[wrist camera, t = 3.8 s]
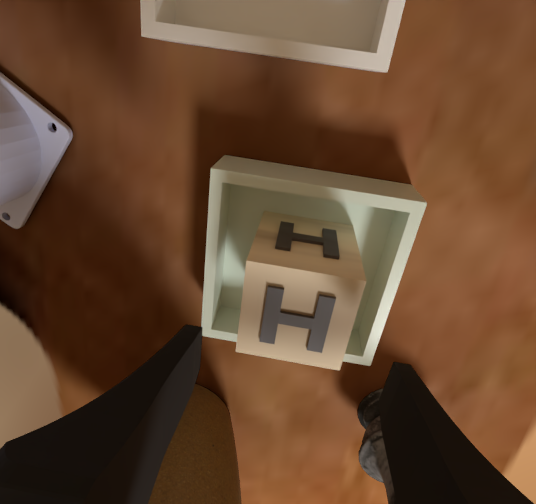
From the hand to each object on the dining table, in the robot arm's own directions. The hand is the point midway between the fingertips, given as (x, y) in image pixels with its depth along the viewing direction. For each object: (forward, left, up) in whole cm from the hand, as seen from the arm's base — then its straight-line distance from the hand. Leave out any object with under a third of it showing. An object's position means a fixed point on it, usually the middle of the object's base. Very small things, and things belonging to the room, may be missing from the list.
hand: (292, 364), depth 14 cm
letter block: (0, 0, -9) cm, 9 cm away
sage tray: (0, 0, -9) cm, 9 cm away
